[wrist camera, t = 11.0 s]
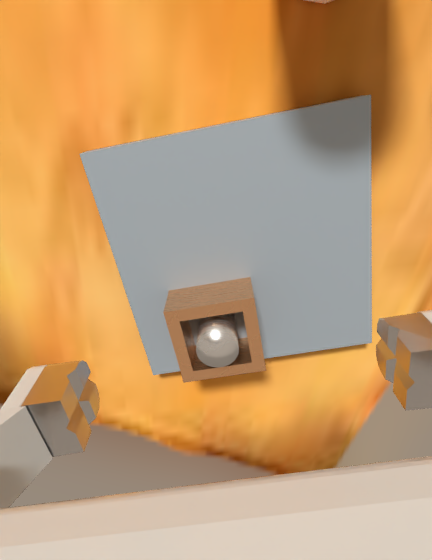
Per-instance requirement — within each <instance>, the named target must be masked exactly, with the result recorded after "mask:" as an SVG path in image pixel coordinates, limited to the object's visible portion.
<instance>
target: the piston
mask: <svg viewBox="0 0 432 560" xmlns="http://www.w3.org/2000/svg"><path fill="white" fill-rule="evenodd" d="M196 353H197V356H198V358H199V359H200V361H201V362H203V363H204V364H206V365H208V366H211V367H224V366H227V365H229V364H231V363H232V362H234V361H235V359H236V358H237V356H238V353H239V345H238V334H237V323H236V314H235V313H230V314H224V315H218V316H211V317H205V318H199V321H198V333H197V345H196Z"/></svg>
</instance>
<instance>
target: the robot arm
mask: <svg viewBox="0 0 432 560" xmlns="http://www.w3.org/2000/svg"><path fill="white" fill-rule="evenodd" d="M377 332H378V334H379V335H380V337H381V338H382V339H381V340H380V341H379V342H378V344H377V345H376V356H377V361H378V366H379V368H380V370H381V373H382V374H383V376H384V378H385V379H386V380H388V381H390V382H392V383H394V384H393V392H394V394H395V395H396V397H397V398H398V400H399V401H400V402H401V404H402V406H403V408H404V409H405V410H415V409H425V408H432V310H428V311H422V312H417V313H413V314H407V315H400V316H393V317H387V318H380V319H379V321H378V324H377ZM89 374H90V369H89V367H88V365H87V363H86V362H84V361H74V362H66V363H57V364H49V365H42V366H35V367H31V368H29V369H27V371H26V372H25V373H24V375H23V376H22V378H21V379H20V381H19V382H18V384H17V385H16V387H15V388H14V390H13V391H12V393H11V394H10V396H9V397H8V399H7V400H6V402H5V403H4V405H3V406H2V408H1V409H0V560H432V456H429V457H421V458H414V459H406V460H396V461H388V462H380V463H372V464H363V465H355V466H346V467H338V468H330V469H321V470H313V471H305V472H296V473H288V474H280V475H272V476H264V477H255V478H247V479H239V480H231V481H223V482H214V483H207V484H198V485H191V486H182V487H174V488H167V489H157V490H149V491H141V492H133V493H125V494H116V495H108V496H100V497H92V498H84V499H75V500H67V501H59V502H51V503H43V504H34V505H26V506H18V507H10V505H11V504H12V503H13V502H14V501H15V500H16V499H17V498H18V497H19V496H20V494H21V493H22V492H23V491H24V490H25V489H26V488H27V487H28V485H29V484H30V483H31V482H32V481H33V480H34V479H35V478H36V476H38V474H39V473H40V472H41V471H42V470H43V469H44V468H45V467H46V466H47V464H48V463H49V462H50V461H51V460H52V459H53V457H54V456H61V455H67V454H73V453H80V452H84V450H85V448H86V445H87V442H88V439H89V436H90V434H91V429H90V426H89V424H90V423H91V422H92V421H93V420H94V419H95V418H96V416H97V413H98V410H99V393H98V389H97V387H96V384H95V383H93V382H92V381H90V380H89V379H88V377H89ZM9 507H10V508H9Z"/></svg>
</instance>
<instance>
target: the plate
mask: <svg viewBox="0 0 432 560" xmlns="http://www.w3.org/2000/svg"><path fill="white" fill-rule="evenodd" d="M80 157H81V160H82V163H83V166H84V169H85V172H86V175H87V178H88V181H89V184H90V187H91V190H92V193H93V196H94V199H95V202H96V205H97V208H98V211H99V214H100V217H101V220H102V222H103V225H104V228H105V231H106V234H107V237H108V240H109V243H110V246H111V249H112V252H113V255H114V258H115V261H116V264H117V267H118V270H119V273H120V276H121V279H122V282H123V285H124V288H125V291H126V294H127V297H128V300H129V303H130V306H131V309H132V312H133V315H134V318H135V321H136V324H137V327H138V330H139V333H140V336H141V339H142V342H143V345H144V348H145V351H146V354H147V357H148V360H149V363H150V366H151V369H152V372H153V375H157V374H164V373H171V372H178V371H180V368H179V365H178V361H177V358H176V354H175V351H174V348H173V344H172V341H171V337H170V334H169V330H168V327H167V324H166V320H165V317H164V313H163V312H164V308H165V304H166V300H167V296H168V292H169V290H175V289H181V288H187V287H193V286H199V285H205V284H211V283H217V282H223V281H229V280H235V279H241V278H247V277H250V278H251V283H252V288H253V294H254V299H255V305H256V311H257V318H258V324H259V330H260V336H261V342H262V348H263V355H264V359H266V358H272V357H279V356H286V355H293V354H299V353H306V352H313V351H320V350H326V349H333V348H340V347H347V346H353V345H360V344H367V343H372V266H371V95H361V96H356V97H351V98H346V99H341V100H337V101H332V102H327V103H322V104H317V105H312V106H307V107H302V108H297V109H292V110H287V111H282V112H278V113H273V114H268V115H263V116H258V117H253V118H248V119H243V120H238V121H233V122H228V123H223V124H219V125H214V126H209V127H204V128H199V129H194V130H189V131H184V132H179V133H174V134H169V135H164V136H159V137H155V138H150V139H145V140H140V141H135V142H130V143H125V144H120V145H115V146H110V147H105V148H100V149H96V150H91V151H86V152H83V153H81V154H80ZM235 314H236V323H237V334H238V339H240V338H246V337H247V332H246V327H245V321H244V316H243V312H237V313H235ZM198 321H199V319H193V320H189V323H190V327H191V330H192V334H193V338H194V342H195V345H197V333H198Z"/></svg>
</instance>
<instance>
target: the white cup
mask: <svg viewBox="0 0 432 560" xmlns="http://www.w3.org/2000/svg"><path fill="white" fill-rule="evenodd" d="M305 1H311V2H317V3H323V4H326V3H329V2H331V1H334V0H305Z"/></svg>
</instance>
